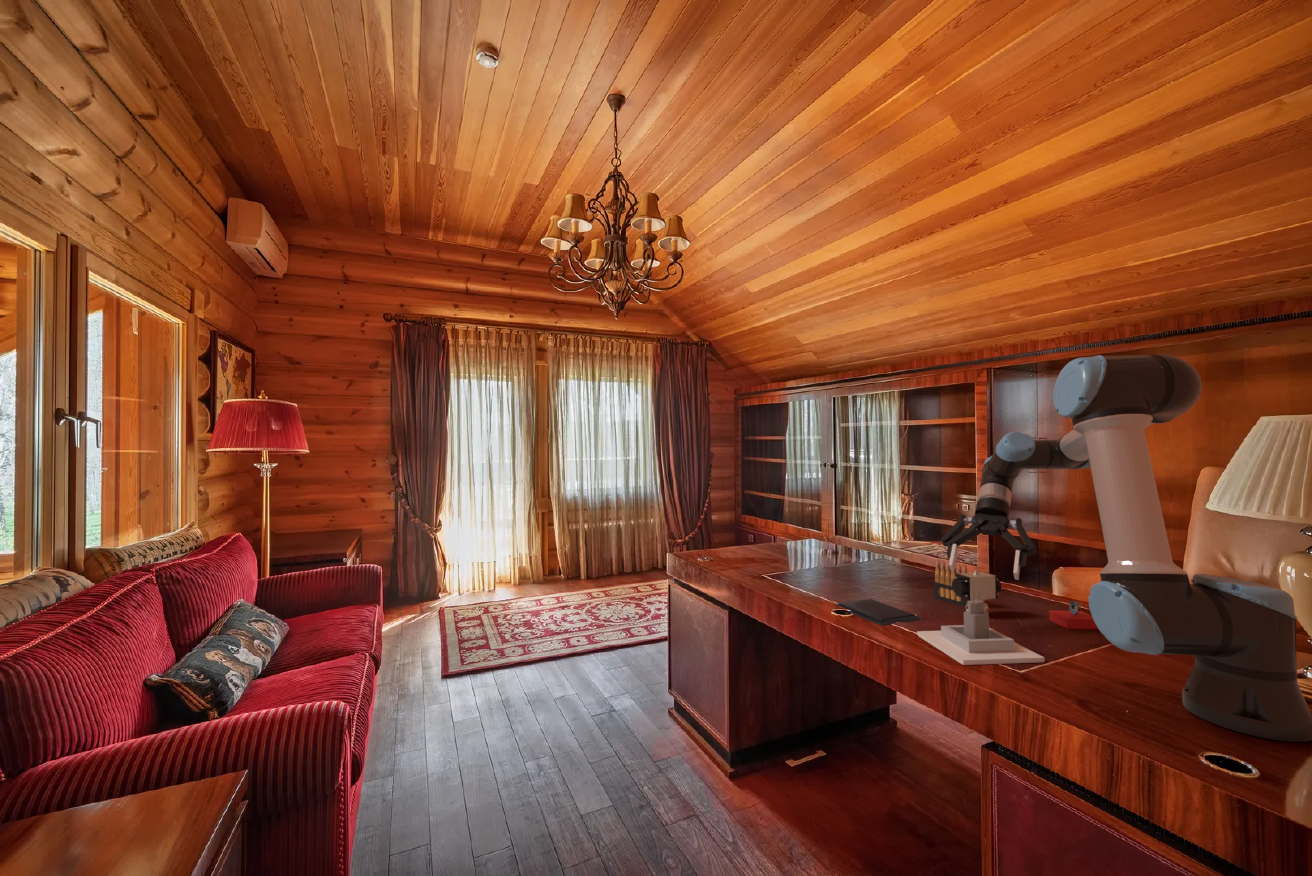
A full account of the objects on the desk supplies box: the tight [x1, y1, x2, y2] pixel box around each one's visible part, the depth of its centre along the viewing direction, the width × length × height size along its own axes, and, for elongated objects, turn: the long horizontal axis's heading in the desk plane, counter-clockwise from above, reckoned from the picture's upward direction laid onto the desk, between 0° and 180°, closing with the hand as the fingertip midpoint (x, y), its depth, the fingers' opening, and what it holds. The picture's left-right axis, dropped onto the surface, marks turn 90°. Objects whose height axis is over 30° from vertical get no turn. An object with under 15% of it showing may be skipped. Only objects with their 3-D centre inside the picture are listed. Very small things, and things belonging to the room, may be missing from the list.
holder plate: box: [916, 624, 1046, 666], centre depth 123 cm, size 18×18×4 cm
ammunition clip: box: [933, 558, 971, 608], centre depth 159 cm, size 11×2×12 cm, turn 24°
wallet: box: [835, 598, 925, 627], centre depth 150 cm, size 20×2×15 cm
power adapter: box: [963, 591, 990, 639], centre depth 123 cm, size 3×5×12 cm, turn 117°
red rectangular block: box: [1049, 600, 1099, 630], centre depth 138 cm, size 8×7×6 cm
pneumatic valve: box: [952, 569, 1002, 612], centre depth 148 cm, size 6×12×12 cm, turn 98°
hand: (982, 572), depth 130 cm, fingers open, 13 cm apart
